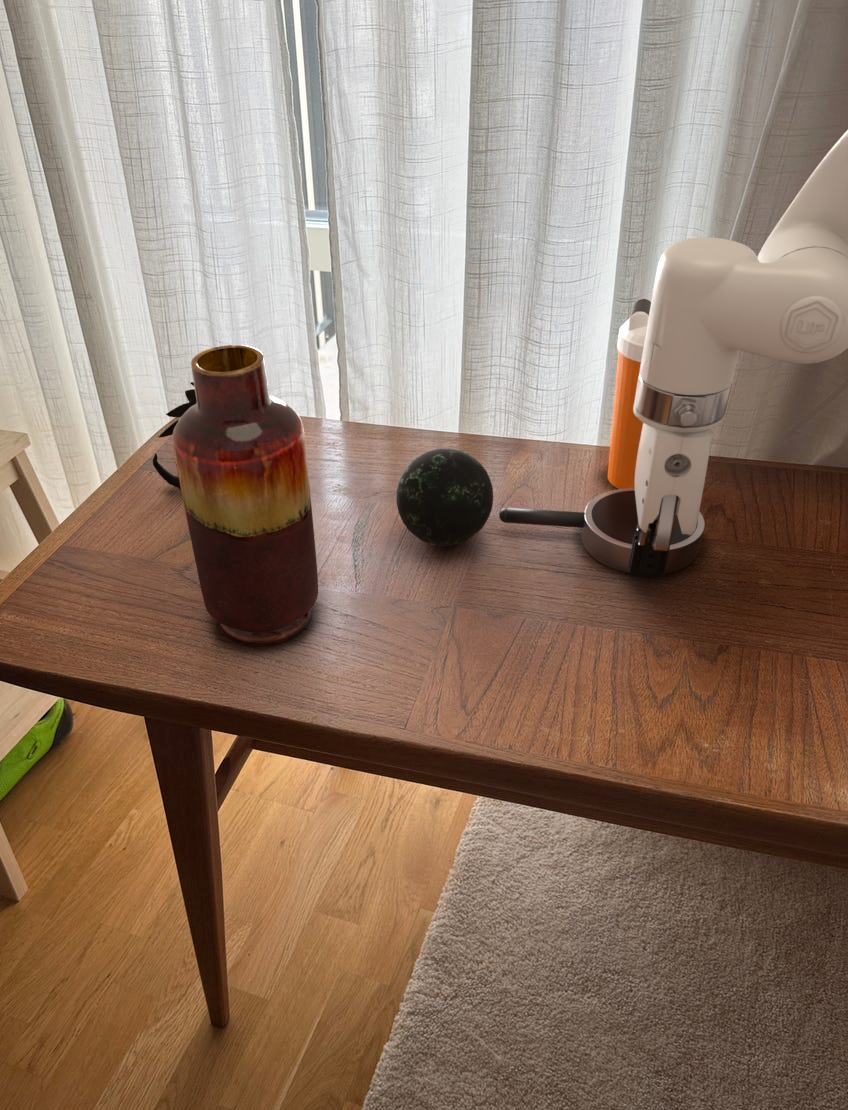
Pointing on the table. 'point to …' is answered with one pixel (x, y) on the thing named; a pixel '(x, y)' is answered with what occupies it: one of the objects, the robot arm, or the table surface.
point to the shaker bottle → (627, 398)
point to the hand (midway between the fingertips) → (645, 572)
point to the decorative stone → (444, 497)
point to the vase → (247, 499)
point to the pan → (612, 529)
